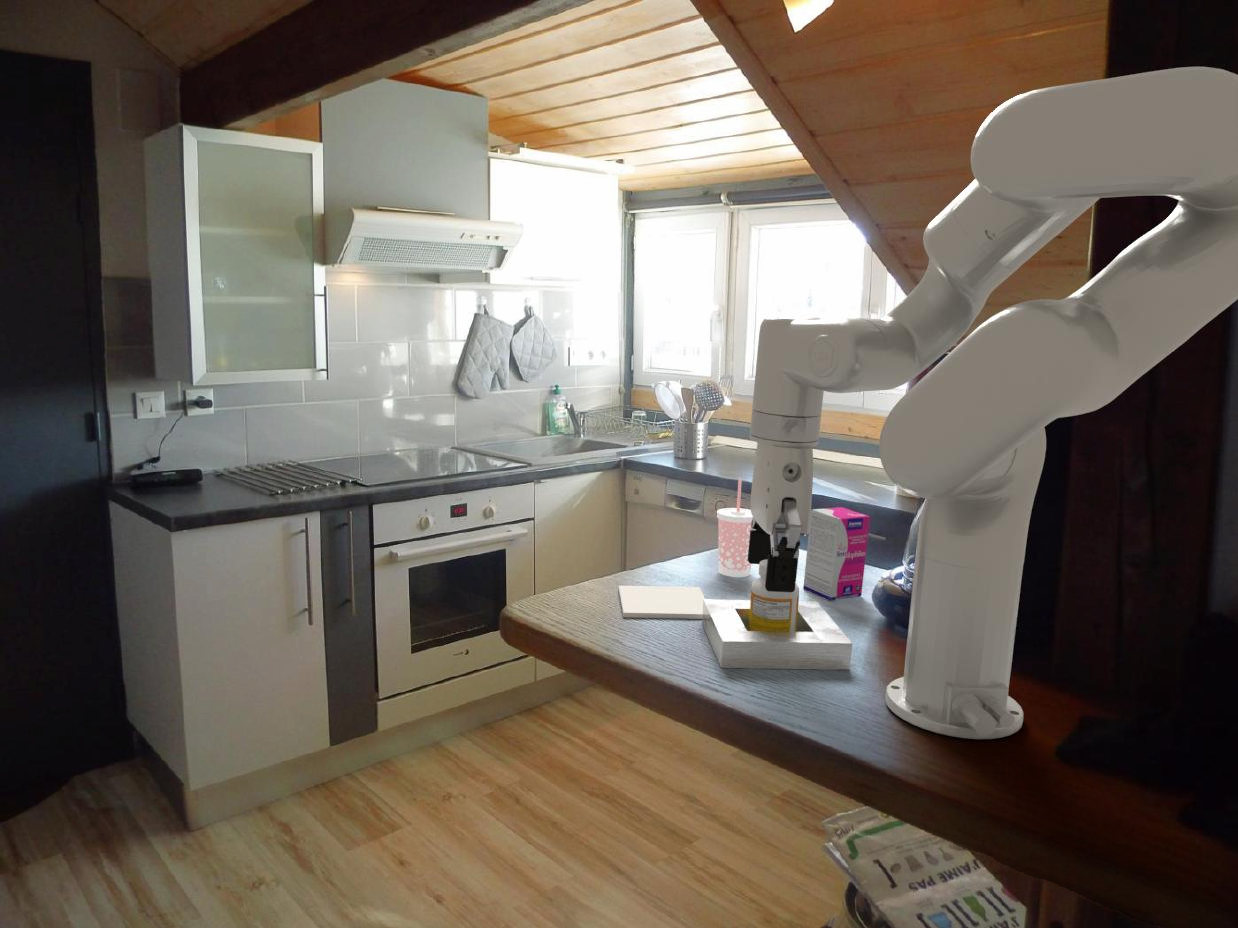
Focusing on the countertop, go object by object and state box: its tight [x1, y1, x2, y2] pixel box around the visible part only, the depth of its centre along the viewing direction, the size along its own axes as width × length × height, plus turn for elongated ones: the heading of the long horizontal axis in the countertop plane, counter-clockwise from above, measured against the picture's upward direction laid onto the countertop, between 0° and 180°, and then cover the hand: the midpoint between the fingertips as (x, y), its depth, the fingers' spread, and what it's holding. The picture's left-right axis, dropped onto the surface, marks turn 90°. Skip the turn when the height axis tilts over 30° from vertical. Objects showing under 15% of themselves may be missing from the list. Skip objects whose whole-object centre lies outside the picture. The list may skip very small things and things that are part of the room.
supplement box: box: [802, 506, 871, 601], centre depth 124 cm, size 6×6×12 cm
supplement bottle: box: [749, 559, 800, 632], centre depth 104 cm, size 5×5×10 cm
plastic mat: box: [618, 585, 706, 620], centre depth 118 cm, size 11×11×1 cm
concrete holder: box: [701, 598, 853, 671], centre depth 104 cm, size 14×14×3 cm
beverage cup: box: [716, 477, 755, 578], centre depth 132 cm, size 6×6×14 cm
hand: (769, 576), depth 104 cm, fingers open, 9 cm apart
